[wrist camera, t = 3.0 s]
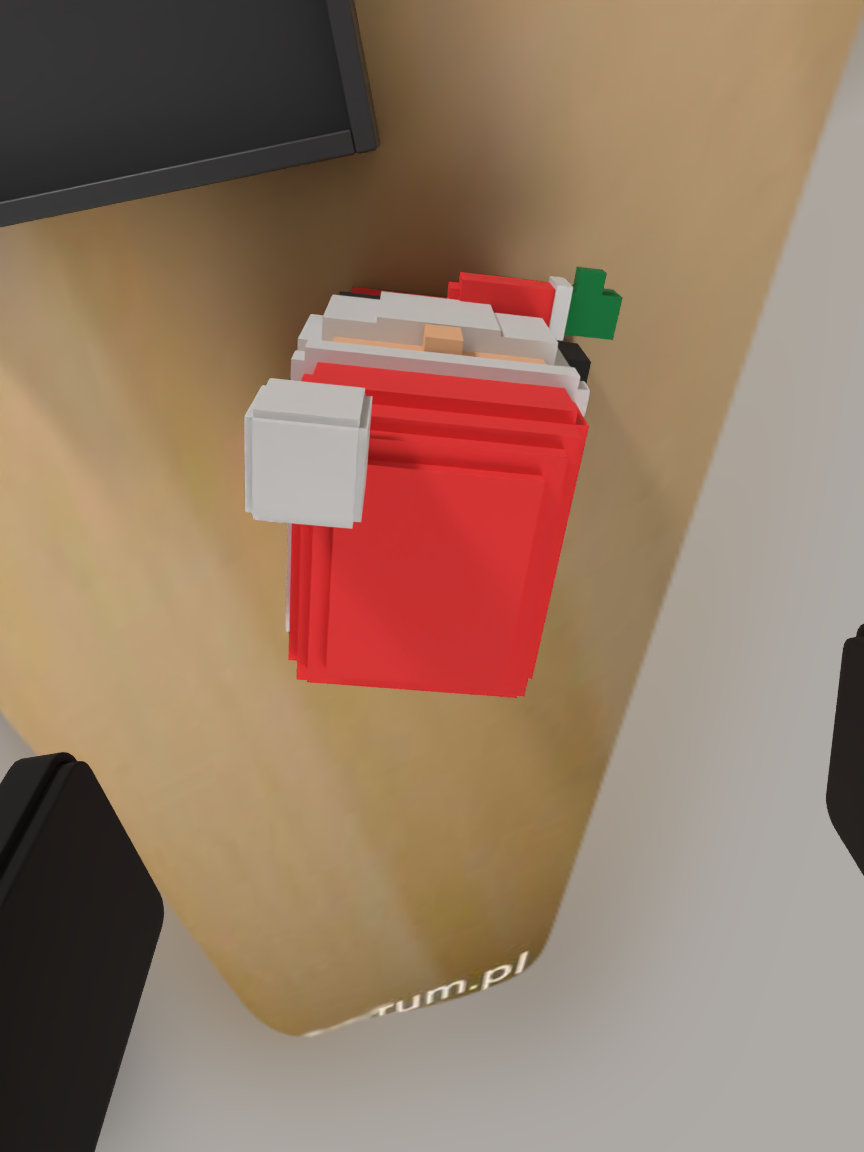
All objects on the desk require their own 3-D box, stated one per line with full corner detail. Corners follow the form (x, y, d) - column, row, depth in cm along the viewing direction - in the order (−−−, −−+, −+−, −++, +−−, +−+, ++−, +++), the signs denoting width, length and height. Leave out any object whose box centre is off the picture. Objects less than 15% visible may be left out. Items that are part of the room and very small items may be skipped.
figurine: (537, 533, 25) (625, 827, 15) (317, 513, 24) (247, 803, 14) (595, 252, 21) (777, 386, 10) (329, 219, 20) (241, 329, 10)
